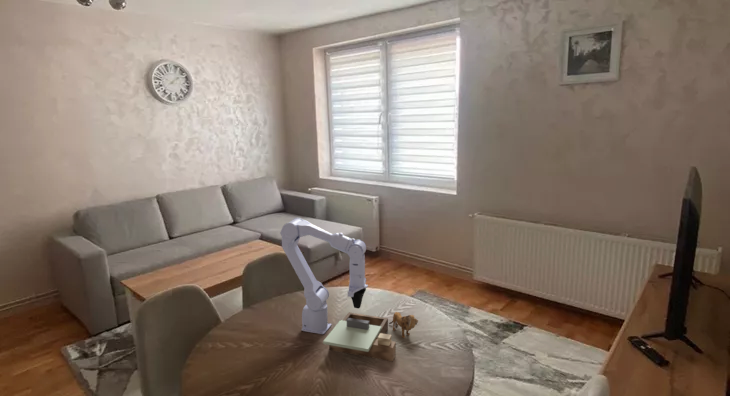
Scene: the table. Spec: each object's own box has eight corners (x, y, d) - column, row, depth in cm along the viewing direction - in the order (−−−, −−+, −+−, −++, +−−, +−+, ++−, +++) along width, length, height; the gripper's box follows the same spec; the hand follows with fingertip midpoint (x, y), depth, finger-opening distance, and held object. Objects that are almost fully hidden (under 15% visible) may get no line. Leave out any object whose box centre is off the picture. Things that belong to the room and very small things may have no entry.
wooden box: (329, 350, 148) (329, 336, 147) (348, 324, 166) (348, 312, 165) (392, 361, 141) (392, 347, 140) (405, 333, 159) (405, 320, 158)
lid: (323, 343, 142) (323, 334, 141) (340, 322, 157) (340, 313, 156) (368, 351, 137) (368, 342, 136) (381, 329, 152) (381, 320, 151)
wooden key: (377, 344, 142) (377, 337, 141) (380, 339, 144) (380, 333, 144) (389, 346, 140) (389, 339, 140) (391, 341, 143) (391, 334, 143)
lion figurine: (419, 337, 156) (420, 315, 154) (409, 342, 153) (409, 319, 151) (393, 322, 167) (394, 301, 166) (383, 326, 164) (383, 305, 163)
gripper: (360, 281, 147) (360, 317, 149) (373, 267, 160) (373, 301, 163) (342, 279, 149) (342, 314, 152) (356, 265, 163) (356, 298, 165)
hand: (357, 307), depth 158 cm, fingers closed
